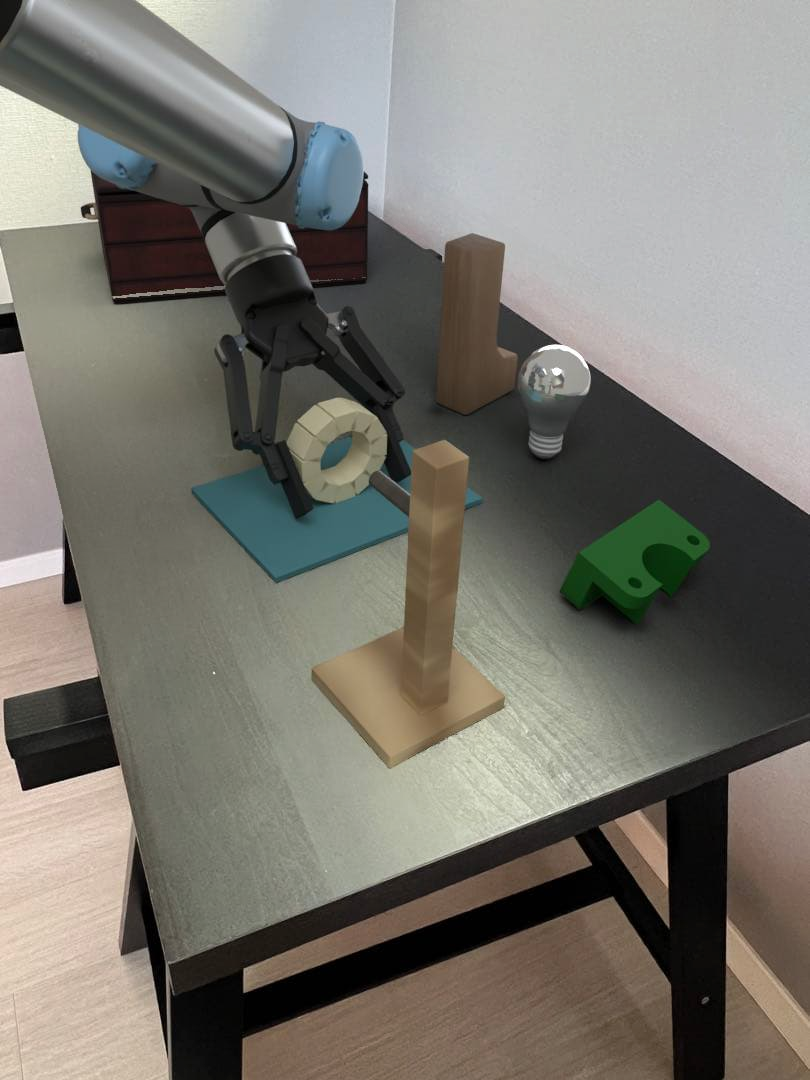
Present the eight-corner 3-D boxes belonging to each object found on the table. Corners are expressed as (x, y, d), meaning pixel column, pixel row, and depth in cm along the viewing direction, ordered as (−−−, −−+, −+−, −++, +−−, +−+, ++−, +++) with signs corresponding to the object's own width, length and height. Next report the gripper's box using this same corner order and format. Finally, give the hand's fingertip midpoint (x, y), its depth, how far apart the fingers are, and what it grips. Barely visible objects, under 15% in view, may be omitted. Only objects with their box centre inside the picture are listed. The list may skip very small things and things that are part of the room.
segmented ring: (303, 515, 85) (300, 427, 80) (286, 499, 87) (283, 412, 82) (386, 485, 89) (388, 400, 84) (368, 471, 91) (369, 387, 86)
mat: (275, 583, 78) (275, 577, 78) (191, 493, 88) (190, 487, 88) (482, 503, 89) (482, 497, 88) (385, 431, 99) (385, 426, 99)
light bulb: (551, 483, 92) (568, 371, 85) (494, 457, 96) (506, 347, 88) (591, 457, 96) (610, 348, 89) (535, 433, 100) (550, 326, 93)
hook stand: (389, 769, 63) (400, 504, 50) (311, 679, 69) (303, 425, 57) (504, 707, 68) (540, 452, 55) (421, 629, 74) (436, 385, 61)
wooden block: (484, 377, 110) (498, 221, 99) (515, 390, 108) (533, 232, 97) (433, 403, 104) (443, 241, 94) (465, 417, 102) (479, 253, 91)
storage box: (97, 313, 120) (77, 192, 112) (87, 252, 138) (70, 144, 129) (386, 288, 131) (389, 176, 122) (343, 234, 148) (343, 133, 140)
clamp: (610, 661, 78) (622, 618, 70) (556, 613, 81) (562, 566, 73) (705, 569, 81) (727, 518, 73) (651, 526, 84) (667, 471, 76)
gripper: (349, 268, 95) (434, 472, 94) (136, 313, 84) (231, 545, 83) (380, 230, 88) (472, 449, 88) (153, 274, 77) (256, 525, 77)
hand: (355, 496), depth 85 cm, fingers open, 10 cm apart
